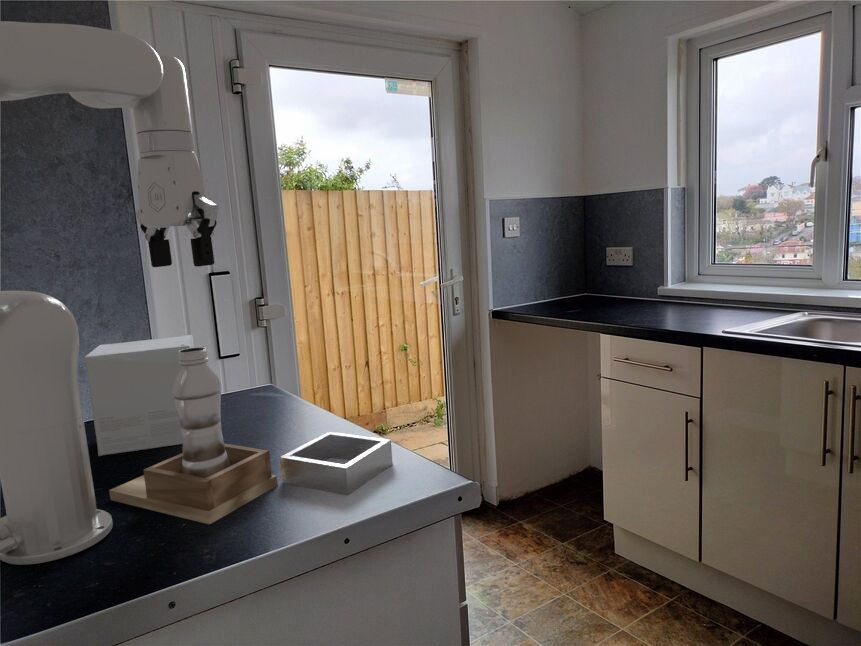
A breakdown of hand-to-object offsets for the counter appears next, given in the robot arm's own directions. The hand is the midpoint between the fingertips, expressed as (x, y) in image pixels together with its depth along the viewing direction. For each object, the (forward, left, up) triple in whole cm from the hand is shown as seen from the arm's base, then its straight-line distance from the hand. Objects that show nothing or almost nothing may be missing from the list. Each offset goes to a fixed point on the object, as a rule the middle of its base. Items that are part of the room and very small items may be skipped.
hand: (182, 265), depth 93 cm
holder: (+8, -20, -33) cm, 39 cm away
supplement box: (+9, +24, -33) cm, 42 cm away
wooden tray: (-6, -4, -33) cm, 33 cm away
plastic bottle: (-6, -7, -31) cm, 33 cm away
